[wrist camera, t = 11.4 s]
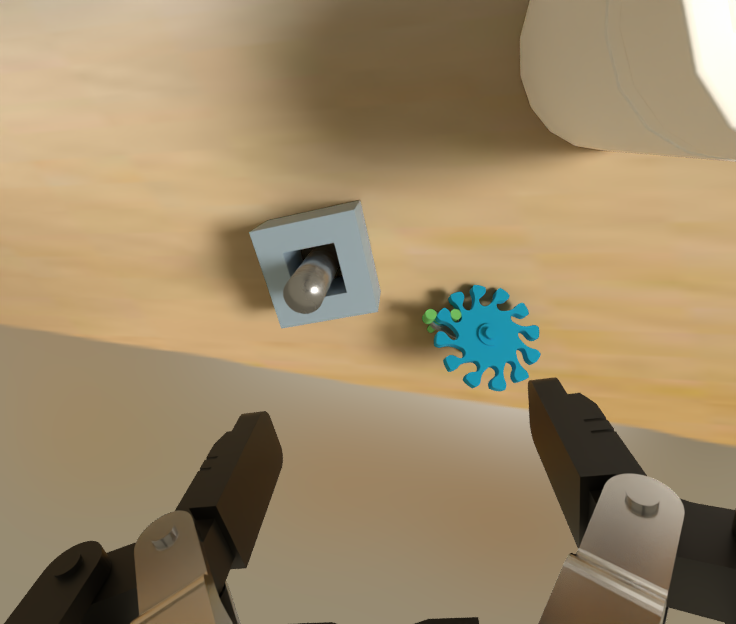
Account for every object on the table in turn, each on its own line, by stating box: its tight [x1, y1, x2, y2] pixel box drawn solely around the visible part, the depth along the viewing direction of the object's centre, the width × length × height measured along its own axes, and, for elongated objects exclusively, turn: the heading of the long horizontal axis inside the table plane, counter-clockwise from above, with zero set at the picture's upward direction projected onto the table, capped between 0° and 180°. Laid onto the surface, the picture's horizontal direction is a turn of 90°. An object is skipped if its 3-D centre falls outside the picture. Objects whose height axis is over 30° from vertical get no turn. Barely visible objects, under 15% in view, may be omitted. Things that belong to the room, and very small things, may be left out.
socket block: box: [249, 200, 381, 328], centre depth 37 cm, size 9×9×5 cm
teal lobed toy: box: [422, 285, 541, 391], centre depth 39 cm, size 11×6×10 cm
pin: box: [283, 243, 340, 314], centre depth 34 cm, size 3×3×10 cm
